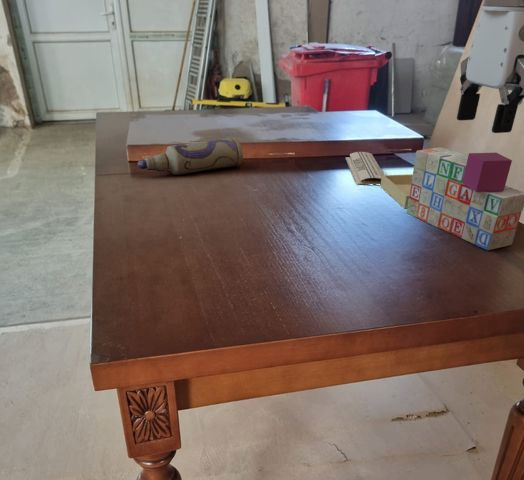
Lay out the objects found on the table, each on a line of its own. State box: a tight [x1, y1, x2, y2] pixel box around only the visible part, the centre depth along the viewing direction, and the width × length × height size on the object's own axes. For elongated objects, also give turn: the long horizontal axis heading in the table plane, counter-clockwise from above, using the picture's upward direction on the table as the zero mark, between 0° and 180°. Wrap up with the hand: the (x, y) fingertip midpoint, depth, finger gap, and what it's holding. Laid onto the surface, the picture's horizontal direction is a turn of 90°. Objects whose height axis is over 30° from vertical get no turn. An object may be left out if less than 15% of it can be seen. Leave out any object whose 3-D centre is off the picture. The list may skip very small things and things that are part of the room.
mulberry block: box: [462, 152, 513, 192], centre depth 88 cm, size 5×5×5 cm
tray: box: [379, 173, 413, 209], centre depth 114 cm, size 11×15×3 cm
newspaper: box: [345, 151, 385, 186], centre depth 130 cm, size 24×7×2 cm, turn 178°
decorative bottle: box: [136, 137, 244, 176], centre depth 125 cm, size 26×8×7 cm, turn 119°
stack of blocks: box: [406, 146, 524, 251], centre depth 95 cm, size 21×6×12 cm, turn 27°
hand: (482, 125), depth 85 cm, fingers open, 9 cm apart
